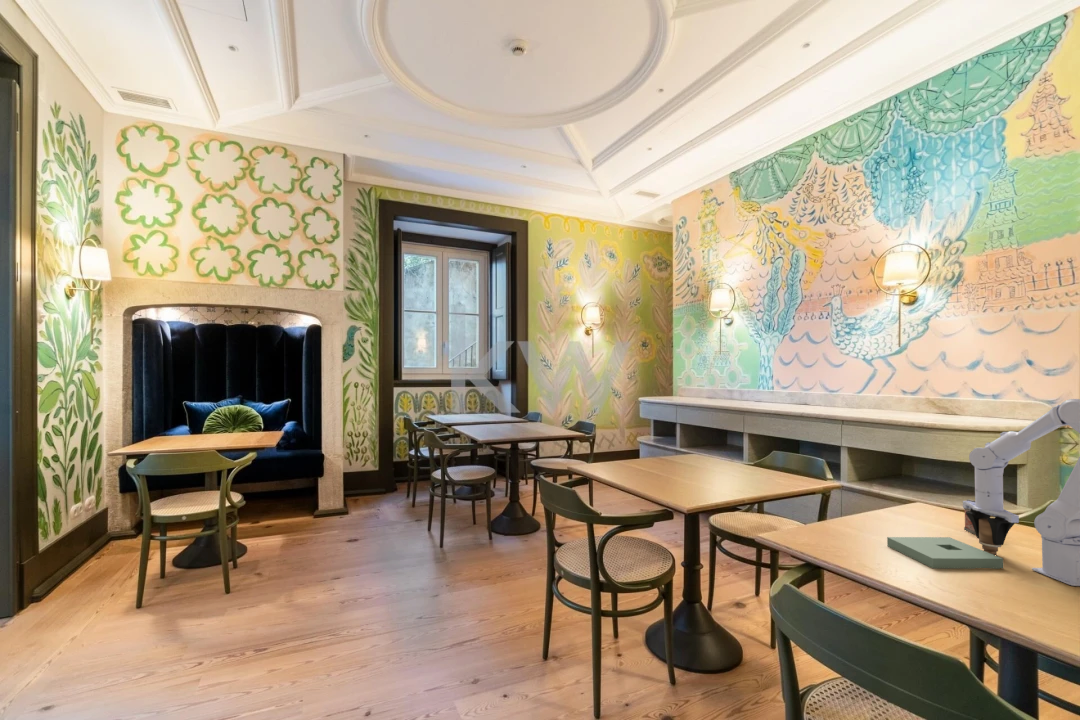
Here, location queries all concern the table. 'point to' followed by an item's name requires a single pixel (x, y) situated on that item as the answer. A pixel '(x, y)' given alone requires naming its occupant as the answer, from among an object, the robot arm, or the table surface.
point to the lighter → (968, 521)
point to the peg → (987, 537)
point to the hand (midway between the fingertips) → (989, 541)
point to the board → (944, 552)
